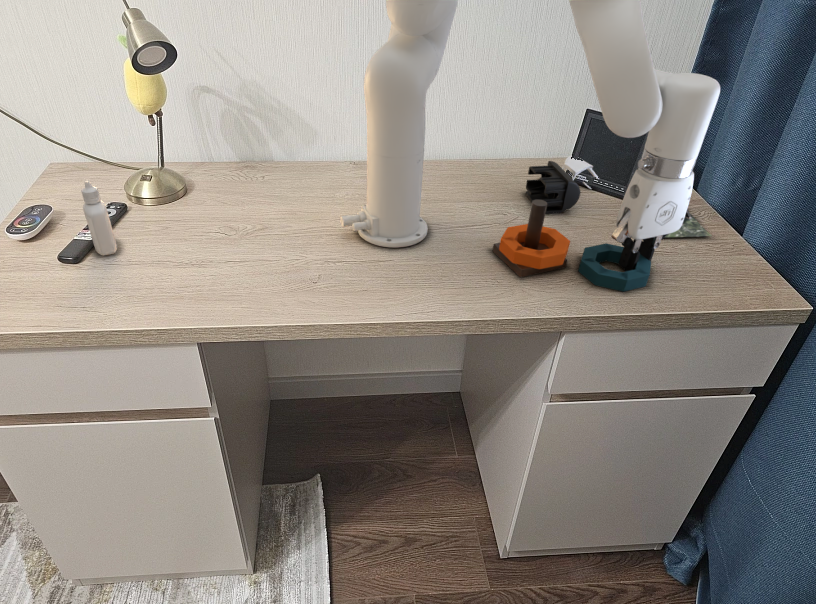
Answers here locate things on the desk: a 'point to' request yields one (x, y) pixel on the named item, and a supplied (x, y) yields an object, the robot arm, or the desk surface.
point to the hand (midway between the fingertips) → (633, 266)
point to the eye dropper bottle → (98, 221)
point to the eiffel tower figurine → (689, 228)
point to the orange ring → (532, 256)
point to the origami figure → (578, 167)
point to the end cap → (552, 188)
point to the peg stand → (530, 241)
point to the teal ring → (610, 277)
